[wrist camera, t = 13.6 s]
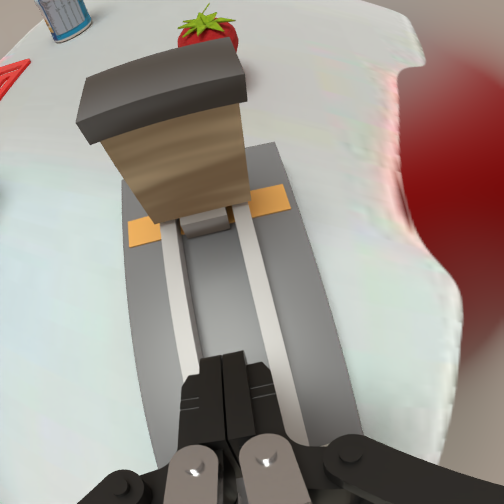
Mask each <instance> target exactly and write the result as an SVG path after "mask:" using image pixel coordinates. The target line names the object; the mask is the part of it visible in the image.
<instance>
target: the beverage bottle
mask: <svg viewBox="0 0 504 504" xmlns="http://www.w3.org/2000/svg"><path fill="white" fill-rule="evenodd" d="M34 1H35V4H36V6H37V7H38V8H39V10H40V12H41V14H42V16H43V18H44V20H45V22H46V24H47V26H48V28H49V30H50V32H51V34H52V37H53V39H54V41H55V42H63V41H66V40H69V39H71V38H73V37H75V36H77V35H78V34H80V33H81V32H83V31H84V30H85V29H87V28H88V27H89V25H90V24H91V21H92V20H91V17H90V15H89V14H88V12H87V9H86V7H85V4H84V2H83V0H34Z"/></svg>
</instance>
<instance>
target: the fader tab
mask: <svg viewBox="0 0 504 504" xmlns="http://www.w3.org/2000/svg"><path fill="white" fill-rule="evenodd" d="M242 102H247V92H246V82H245V74H244V71H243V69H242V66H241V64H240V61H239V59H238V56H237V54H236V51H235V49H234V46H233V44H232V42H231V39H230V37H225V38H219V39H214V40H209V41H205V42H200V43H196V44H191V45H187V46H183V47H179V48H175V49H171V50H168V51H164V52H160V53H157V54H154V55H150V56H147V57H144V58H140V59H137V60H134V61H131V62H128V63H125V64H122V65H119V66H116V67H114V68H111V69H108V70H106V71H103V72H100V73H98V74H95V75H93V76H90V77H88V78H86V81H85V85H84V88H83V92H82V97H81V101H80V105H79V109H78V114H77V119H76V124H77V126H78V127H79V129H80V130H81V132H82V133H83V135H84V137H85V138H86V140H87V141H88V143H89V144H90V145H92V144H94V143H97V142H101V144H102V146H103V147H104V149H105V150H106V152H107V154H108V155H109V157H110V158H111V160H112V161H113V163H114V165H115V166H116V168H117V169H118V171H119V172H120V174H121V175H122V177H123V178H124V180H125V181H126V183H127V184H128V186H129V187H130V189H131V190H132V192H133V193H134V195H135V196H136V198H137V199H138V201H139V202H140V204H141V205H142V207H143V208H144V210H145V211H146V213H147V214H148V216H149V217H150V219H151V220H152V221H153V223H154V224H158V223H162V222H166V221H170V220H174V219H177V218H180V225H181V227H182V229H183V231H184V233H185V235H186V236H187V238H188V239H189V238H193V237H197V236H201V235H205V234H210V233H214V232H218V231H222V230H226V229H230V224H229V220H228V215H227V210H226V207H227V206H231V205H235V204H239V203H244V202H248V201H251V194H250V186H249V178H248V170H247V162H246V154H245V146H244V138H243V131H242V123H241V115H240V107H239V103H242Z"/></svg>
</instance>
